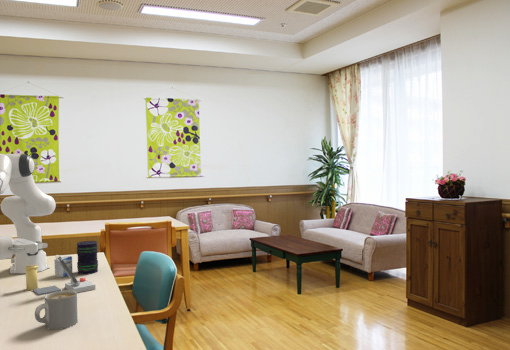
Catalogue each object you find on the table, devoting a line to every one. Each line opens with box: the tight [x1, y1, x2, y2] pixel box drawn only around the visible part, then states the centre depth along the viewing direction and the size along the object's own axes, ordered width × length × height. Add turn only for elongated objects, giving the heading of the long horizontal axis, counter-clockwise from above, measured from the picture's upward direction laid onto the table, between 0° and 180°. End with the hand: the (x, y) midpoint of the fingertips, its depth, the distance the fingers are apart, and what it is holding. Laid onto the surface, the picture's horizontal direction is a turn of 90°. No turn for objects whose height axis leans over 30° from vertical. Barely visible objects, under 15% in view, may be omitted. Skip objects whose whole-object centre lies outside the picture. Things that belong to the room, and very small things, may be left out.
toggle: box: [54, 254, 80, 286], centre depth 187 cm, size 5×2×15 cm
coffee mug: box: [34, 290, 79, 330], centre depth 147 cm, size 13×10×10 cm
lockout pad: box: [32, 285, 62, 296], centre depth 188 cm, size 9×9×1 cm
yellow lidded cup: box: [25, 265, 39, 291], centre depth 192 cm, size 5×5×10 cm
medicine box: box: [54, 255, 73, 278], centre depth 216 cm, size 8×4×9 cm, turn 168°
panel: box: [64, 277, 96, 294], centre depth 191 cm, size 12×9×3 cm
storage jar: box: [76, 240, 99, 275], centre depth 221 cm, size 10×10×15 cm
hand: (43, 244), depth 181 cm, fingers open, 8 cm apart
